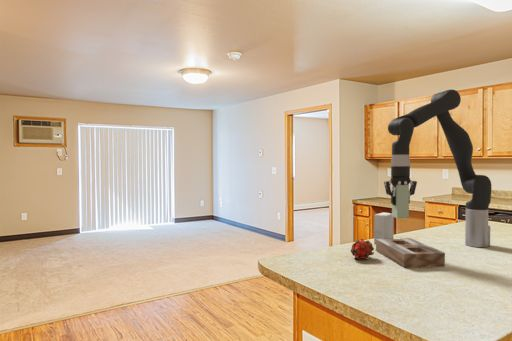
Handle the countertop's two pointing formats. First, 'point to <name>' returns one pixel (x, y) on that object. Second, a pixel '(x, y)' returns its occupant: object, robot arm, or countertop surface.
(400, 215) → the square peg
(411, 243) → the block
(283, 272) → the countertop surface
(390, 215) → the skincare box
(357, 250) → the dragon fruit
